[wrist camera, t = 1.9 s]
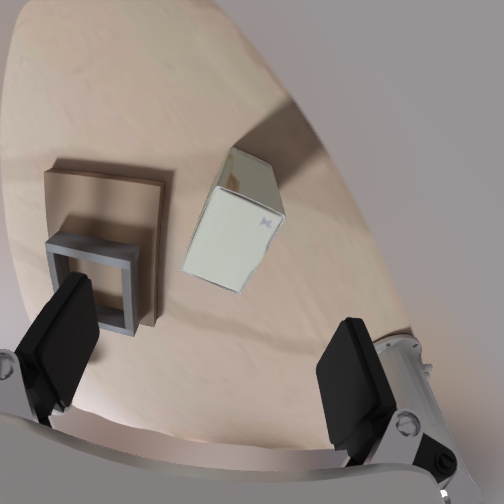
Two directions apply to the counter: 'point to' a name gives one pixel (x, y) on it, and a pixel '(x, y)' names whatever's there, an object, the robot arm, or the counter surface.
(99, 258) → the holder board
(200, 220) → the skincare box
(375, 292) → the counter surface
